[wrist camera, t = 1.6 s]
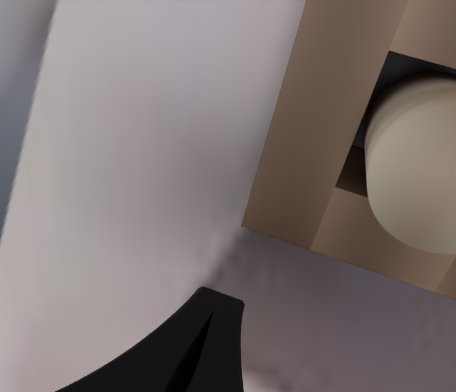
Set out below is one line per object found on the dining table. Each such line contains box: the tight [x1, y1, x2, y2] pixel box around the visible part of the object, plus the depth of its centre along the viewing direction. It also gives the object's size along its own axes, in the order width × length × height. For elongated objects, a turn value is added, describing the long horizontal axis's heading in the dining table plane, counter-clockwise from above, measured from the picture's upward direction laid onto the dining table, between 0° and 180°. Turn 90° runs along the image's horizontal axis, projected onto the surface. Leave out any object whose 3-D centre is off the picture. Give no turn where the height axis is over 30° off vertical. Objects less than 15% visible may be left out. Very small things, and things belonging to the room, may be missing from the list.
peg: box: [364, 71, 456, 254], centre depth 13 cm, size 4×4×4 cm
